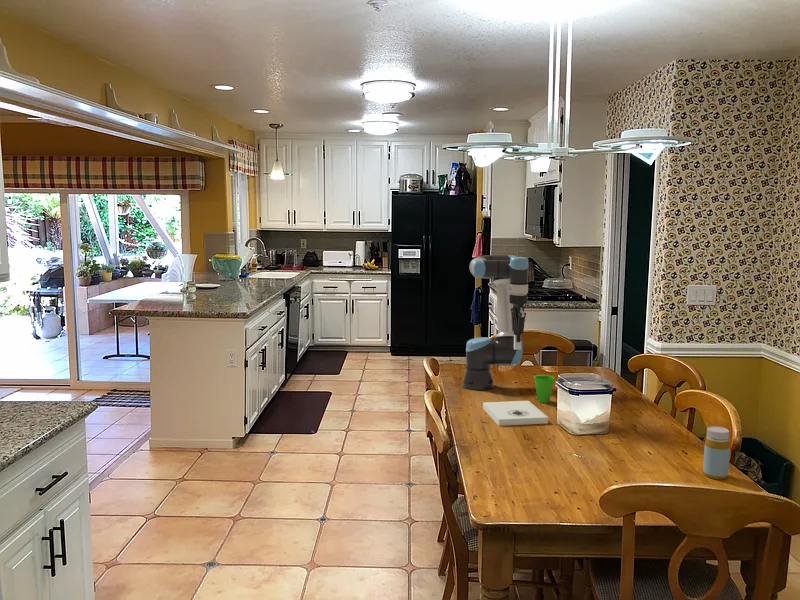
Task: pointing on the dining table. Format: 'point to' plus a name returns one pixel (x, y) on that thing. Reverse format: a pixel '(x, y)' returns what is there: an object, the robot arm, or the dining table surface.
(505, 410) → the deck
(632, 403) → the dining table surface
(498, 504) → the dining table surface
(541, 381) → the cup
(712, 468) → the bottle
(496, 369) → the dining table surface
